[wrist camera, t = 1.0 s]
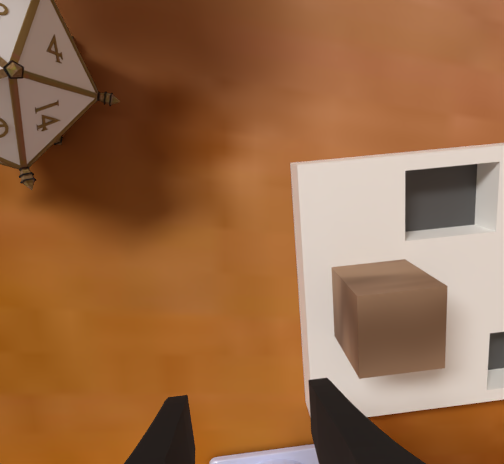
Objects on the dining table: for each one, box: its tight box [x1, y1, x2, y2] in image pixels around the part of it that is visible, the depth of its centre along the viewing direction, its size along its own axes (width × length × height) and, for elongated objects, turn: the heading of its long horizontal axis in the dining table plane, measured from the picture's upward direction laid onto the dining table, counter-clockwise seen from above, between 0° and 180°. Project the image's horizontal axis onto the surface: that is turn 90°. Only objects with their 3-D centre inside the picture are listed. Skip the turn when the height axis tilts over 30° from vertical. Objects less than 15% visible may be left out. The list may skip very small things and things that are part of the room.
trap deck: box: [290, 143, 504, 417], centre depth 21 cm, size 15×19×4 cm
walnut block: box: [331, 259, 448, 379], centre depth 19 cm, size 4×4×4 cm
